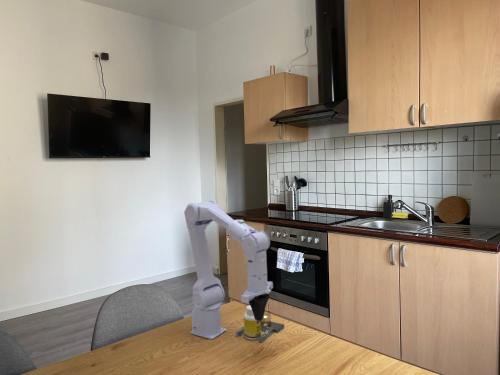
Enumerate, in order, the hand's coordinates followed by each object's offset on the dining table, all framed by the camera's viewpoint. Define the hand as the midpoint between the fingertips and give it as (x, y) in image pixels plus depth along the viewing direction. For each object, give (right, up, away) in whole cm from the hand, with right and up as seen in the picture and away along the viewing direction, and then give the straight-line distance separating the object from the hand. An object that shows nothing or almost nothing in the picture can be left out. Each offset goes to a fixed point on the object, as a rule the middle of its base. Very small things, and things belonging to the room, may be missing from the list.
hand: (258, 319), depth 108 cm
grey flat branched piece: (0, -10, +15) cm, 18 cm away
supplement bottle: (-2, -10, +12) cm, 16 cm away
